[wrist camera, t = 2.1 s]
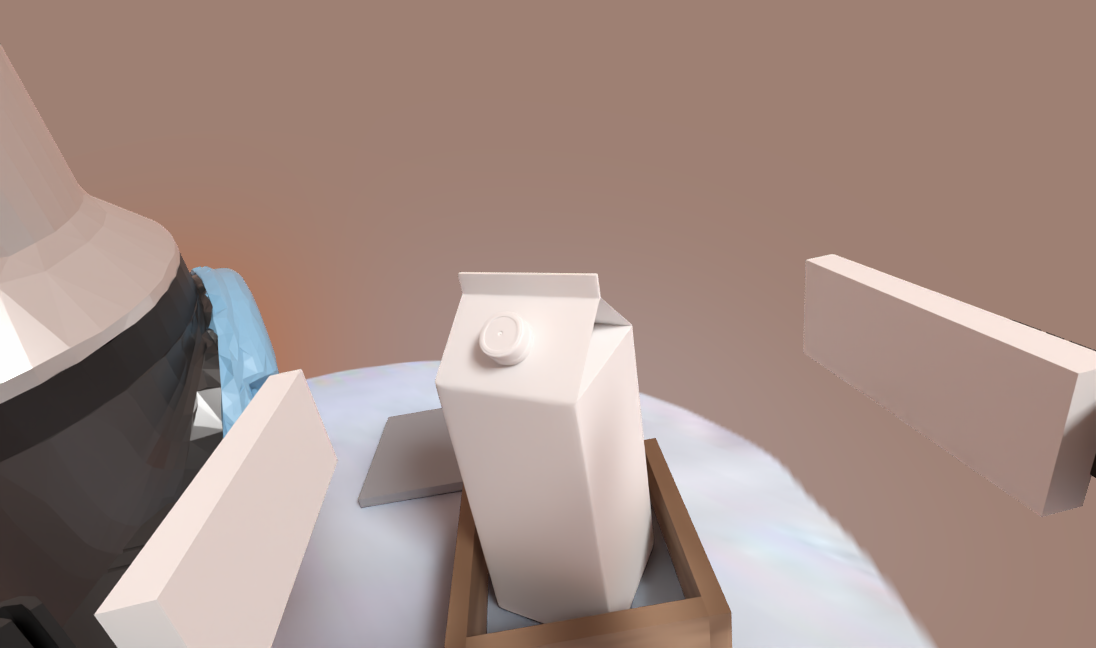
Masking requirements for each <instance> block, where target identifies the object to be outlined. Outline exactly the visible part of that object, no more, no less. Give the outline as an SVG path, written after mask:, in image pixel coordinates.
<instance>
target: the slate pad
mask: <svg viewBox="0 0 1096 648" xmlns="http://www.w3.org/2000/svg"><path fill="white" fill-rule="evenodd" d="M462 489H463V480H462V476H461V473H460V469H459V466H458V462H457V459H456V455H455V452H454V448H453V445H452V441H451V438H450V434H449V431H448V427H447V424H446V420H445V417H444V413H443V410H442V408H439V409H434V410H428V411H422V412H416V413H411V414H405V415H399V416H393V417H389V418H388V420H387V423H386V426H385V428H384V431H383V434H382V437H381V439H380V442H379V445H378V447H377V450H376V453H375V455H374V458H373V461H372V463H371V466H370V469H369V471H368V474H367V477H366V480H365V482H364V485H363V488H362V490H361V493H360V496H359V498H358V501H359V503H360V506H361V508H363V507H368V506H374V505H380V504H386V503H391V502H397V501H403V500H409V499H414V498H420V497H426V496H432V495H438V494H443V493H449V492H455V491H461V490H462Z"/></svg>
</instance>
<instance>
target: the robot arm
mask: <svg viewBox="0 0 1096 648" xmlns="http://www.w3.org/2000/svg"><path fill="white" fill-rule="evenodd" d="M804 313H805V314H804V353H805V354H806V355H808V356H809V357H810V358H812V359H813V360H815V361H816V362H818V363H819V364H821V365H822V366H823V367H825V368H826V369H828V370H829V371H831V372H832V373H834V374H835V375H837V376H838V377H839V378H841V379H842V380H844V381H845V382H847V383H848V384H850V385H851V386H852V387H854V388H855V389H857V390H858V391H860V392H861V393H863V394H864V395H866V396H867V397H868V398H870V399H871V400H873V401H874V402H876V403H877V404H879V405H880V406H882V407H883V408H884V409H886V410H887V411H889V412H890V413H892V414H893V415H895V416H896V417H897V418H899V419H900V420H902V421H903V422H905V423H906V424H908V425H909V426H910V427H912V428H914V429H915V430H916V431H918V432H919V433H921V434H922V435H924V436H925V437H927V438H928V439H929V440H931V441H932V442H934V443H935V444H937V445H938V446H940V447H941V448H942V449H944V450H945V451H947V452H948V453H950V454H951V455H953V456H954V457H955V458H957V459H958V460H960V461H961V462H963V463H964V464H966V465H967V466H969V467H970V468H972V469H973V470H974V471H976V472H977V473H979V474H980V475H982V476H983V477H984V478H986V479H987V480H989V481H990V482H992V483H993V484H995V485H996V486H997V487H999V488H1000V489H1002V490H1003V491H1005V492H1006V493H1008V494H1009V495H1010V496H1012V497H1014V498H1015V499H1016V500H1018V501H1019V502H1021V503H1022V504H1024V505H1025V506H1026V507H1028V508H1029V509H1031V510H1033V511H1034V512H1035V513H1037V514H1038V515H1040V516H1041V517H1043V516H1047V515H1050V514H1055V513H1058V512H1062V511H1066V510H1069V509H1073V508H1077V507H1081V506H1083V503H1084V499H1085V496H1086V493H1087V489H1088V486H1089V482H1090V479H1091V476H1094V477H1095V478H1096V350H1094V349H1091V348H1088V347H1085V346H1082V345H1080V344H1077V343H1074V342H1072V341H1066V340H1064V338H1061V337H1058V336H1055V335H1053V334H1050V333H1047V332H1046V333H1045V332H1042V331H1041V330H1039V329H1036V328H1034V327H1031V326H1028V325H1026V324H1023V323H1020V322H1017V321H1015V320H1011V319H1007V318H1004V317H1002V316H999V315H996V314H994V313H991V312H988V311H985V310H983V309H980V308H977V307H975V306H972V305H969V304H967V303H964V302H961V301H958V300H955V299H953V298H950V297H948V296H945V295H942V294H940V293H937V292H934V291H931V290H928V289H926V288H923V287H921V286H918V285H915V284H913V283H910V282H907V281H904V280H902V279H899V278H896V277H894V276H891V275H888V274H886V273H883V272H880V271H877V270H875V269H872V268H869V267H867V266H864V265H861V264H858V263H856V262H853V261H850V260H848V259H845V258H842V257H840V256H837V255H834V254H831V255H826V256H821V257H817V258H812V259H808V260H806V272H805V312H804ZM337 461H338V460H337V457H336V455H335V452H334V450H333V447H332V445H331V442H330V439H329V437H328V434H327V432H326V429H325V427H324V424H323V422H322V419H321V417H320V414H319V412H318V409H317V407H316V404H315V402H314V399H313V397H312V394H311V392H310V389H309V387H308V384H307V382H306V379H305V377H304V374H303V372H302V369H299V370H294V371H290V372H285V373H280V374H279V371H278V368H277V364H276V358H275V353H274V351H273V348H272V344H271V341H270V339H269V336H268V333H267V330H266V327H265V325H264V322H263V320H262V317H261V314H260V312H259V309H258V307H257V305H256V302H255V300H254V298H253V295H252V293H251V292H250V289H249V288H248V286H247V285H246V283H245V282H244V279H243V278H242V277H241V276H240V275H239V274H238V273H237V272H235V271H233V270H231V269H228V268H219V269H211V268H209V267H206V266H205V267H203V268H201V267H197V268H194V269H192V270H191V272H190V273H189V271H188V268H187V267H186V264H185V262H184V260H183V258H182V256H181V254H180V252H179V249H178V246H177V245H176V243H175V241H174V239H173V237H172V235H171V234H170V233H169V232H168V231H167V230H166V229H165V228H164V227H163V226H162V225H160V224H158V223H157V222H155V221H154V220H151V219H149V218H146V217H144V216H141V215H139V214H136V213H134V212H131V211H129V210H126V209H124V208H121V207H119V206H116V205H114V204H111V203H109V202H106V201H103V200H101V199H98V198H96V197H94V196H91V195H88V194H87V193H86V192H85V191H84V190H83V189H82V188H81V187H80V186H79V185H78V183H77V182H76V180H75V178H74V176H73V174H72V172H71V171H70V169H69V167H68V165H67V163H66V162H65V160H64V158H63V156H62V154H61V152H60V151H59V149H58V147H57V145H56V143H55V142H54V140H53V138H52V136H51V134H50V132H49V131H48V129H47V127H46V125H45V123H44V122H43V120H42V118H41V116H40V114H39V113H38V111H37V109H36V107H35V106H34V104H33V102H32V100H31V98H30V97H29V95H28V93H27V91H26V89H25V87H24V85H23V84H22V82H21V80H20V78H19V77H18V75H17V73H16V71H15V69H14V67H13V66H12V64H11V62H10V60H9V58H8V57H7V55H6V53H5V51H4V49H3V47H2V46H1V44H0V648H271V646H272V644H273V641H274V638H275V635H276V632H277V630H278V627H279V624H280V621H281V618H282V616H283V613H284V610H285V607H286V604H287V602H288V599H289V596H290V593H291V590H292V587H293V585H294V582H295V579H296V576H297V573H298V571H299V568H300V565H301V562H302V559H303V557H304V554H305V551H306V548H307V545H308V543H309V540H310V537H311V534H312V531H313V528H314V526H315V523H316V520H317V517H318V514H319V512H320V509H321V506H322V503H323V500H324V498H325V495H326V492H327V489H328V486H329V484H330V481H331V478H332V475H333V472H334V469H335V467H336V464H337Z"/></svg>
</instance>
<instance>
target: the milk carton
mask: <svg viewBox="0 0 1096 648" xmlns="http://www.w3.org/2000/svg"><path fill="white" fill-rule="evenodd" d="M458 277H459V281H460V285H461V289H462V293H463V294H462V297H461V300H460V304H459V307H458V310H457V313H456V316H455V319H454V323H453V326H452V329H451V332H450V335H449V338H448V341H447V344H446V348H445V351H444V354H443V357H442V360H441V363H440V366H439V369H438V373H437V376H436V379H435V384H436V388H437V392H438V396H439V399H440V403H441V406H442V410H443V413H444V417H445V420H446V424H447V427H448V431H449V434H450V438H451V441H452V445H453V448H454V452H455V455H456V459H457V462H458V466H459V469H460V473H461V476H462V480H463V483H464V487H465V490H466V494H467V497H468V501H469V504H470V508H471V511H472V515H473V518H474V522H475V525H476V529H477V532H478V536H479V539H480V543H481V546H482V550H483V553H484V557H485V560H486V564H487V567H488V571H489V574H490V578H491V581H492V585H493V588H494V592H495V595H496V599H497V602H498V605H499V606H500V607H501V608H503V609H505V610H508V611H511V612H513V613H516V614H519V615H522V616H524V617H527V618H530V619H533V620H535V621H538V622H541V623H544V624H547V623H552V622H558V621H564V620H569V619H575V618H581V617H587V616H592V615H598V614H604V613H610V612H615V611H621V610H627V609H630V607H631V604H632V602H633V599H634V596H635V594H636V591H637V588H638V586H639V583H640V580H641V577H642V575H643V572H644V569H645V567H646V564H647V561H648V559H649V556H650V553H651V550H652V548H653V545H654V535H653V525H652V515H651V505H650V496H649V486H648V476H647V466H646V457H645V447H644V437H643V427H642V418H641V408H640V398H639V389H638V379H637V369H636V360H635V350H634V340H633V330H632V325H631V324H630V323H629V322H628V321H627V320H626V319H625V318H623V317H622V316H621V315H620V314H619V313H618V312H616V311H615V310H614V309H613V308H612V307H611V306H610V305H608V304H607V303H606V302H605V301H604V300H603V299H602V298H601V297H600V289H599V281H598V275H597V274H584V273H583V274H577V273H494V272H485V273H484V272H460V273H459V274H458Z"/></svg>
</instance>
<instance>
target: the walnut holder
mask: <svg viewBox="0 0 1096 648" xmlns="http://www.w3.org/2000/svg"><path fill="white" fill-rule="evenodd" d="M644 447H645V457H646V466H647V476H648V486H649V496H650V500H651V503H652V506H653V509H654V512H655V515H656V517H657V520H658V523H659V526H660V529H661V532H662V534H663V537H664V540H665V543H666V546H667V548H668V551H669V554H670V557H671V560H672V563H673V565H674V568H675V571H676V574H677V577H678V579H679V582H680V585H681V588H682V591H683V594H684V596H685V599H684V600H678V601H673V602H667V603H661V604H656V605H650V606H644V607H638V608H633V609H627V610H621V611H615V612H610V613H604V614H598V615H592V616H587V617H581V618H575V619H569V620H564V621H558V622H552V623H547V624H541V625H535V626H529V627H524V628H518V629H512V630H506V631H501V632H495V633H489V634H486V629H487V604H488V579H489V571H488V567H487V564H486V560H485V557H484V553H483V550H482V546H481V543H480V539H479V536H478V532H477V529H476V525H475V522H474V518H473V515H472V511H471V508H470V504H469V501H468V497H467V494H466V490H465V487H464V483H463V489H462V497H461V506H460V515H459V523H458V532H457V541H456V549H455V558H454V567H453V575H452V584H451V593H450V601H449V610H448V619H447V627H446V636H445V645H444V648H732V624H731V611H730V608H729V606H728V604H727V601H726V599H725V597H724V594H723V592H722V590H721V588H720V585H719V583H718V581H717V578H716V576H715V574H714V571H713V569H712V567H711V564H710V562H709V560H708V558H707V555H706V553H705V551H704V548H703V546H702V544H701V541H700V539H699V537H698V535H697V532H696V530H695V528H694V525H693V523H692V521H691V518H690V516H689V514H688V511H687V509H686V507H685V505H684V502H683V500H682V498H681V495H680V493H679V491H678V488H677V486H676V484H675V482H674V479H673V477H672V475H671V472H670V470H669V468H668V465H667V463H666V461H665V459H664V456H663V454H662V452H661V449H660V447H659V445H658V442H657V440H656V438H653V439H648V440H644Z"/></svg>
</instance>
